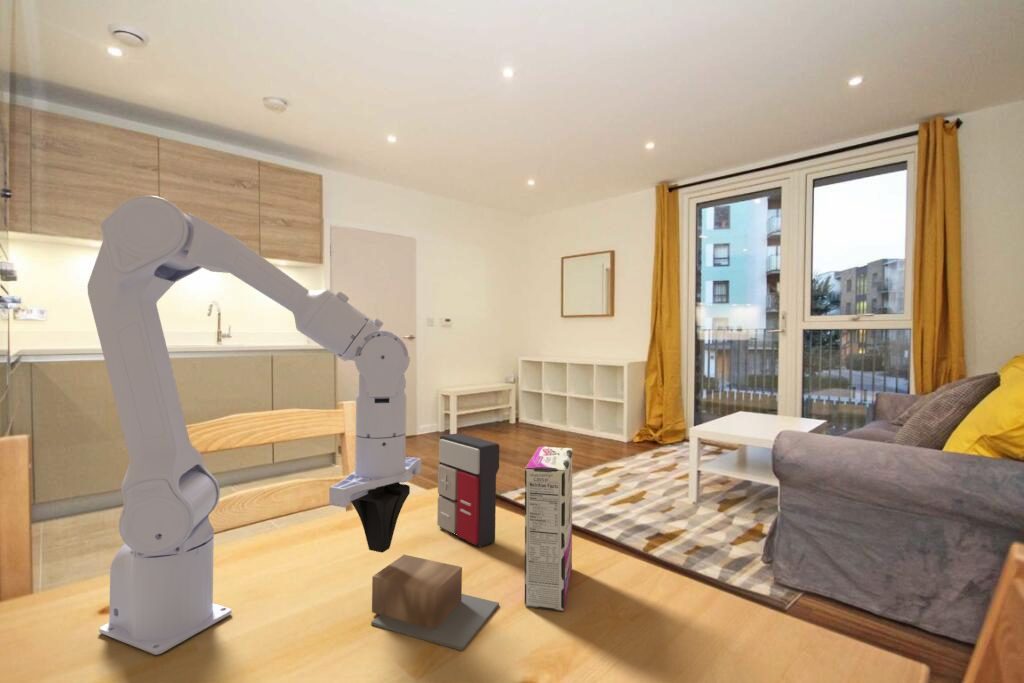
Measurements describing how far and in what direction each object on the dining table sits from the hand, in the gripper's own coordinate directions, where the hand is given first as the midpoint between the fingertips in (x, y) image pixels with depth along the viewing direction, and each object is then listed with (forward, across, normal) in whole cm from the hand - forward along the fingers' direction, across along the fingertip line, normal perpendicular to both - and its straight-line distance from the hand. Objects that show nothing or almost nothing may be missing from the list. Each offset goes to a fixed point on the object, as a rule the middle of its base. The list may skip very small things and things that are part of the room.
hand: (379, 549), depth 57 cm
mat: (+6, 0, -8) cm, 10 cm away
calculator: (+6, +21, 0) cm, 22 cm away
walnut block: (+4, 0, -1) cm, 4 cm away
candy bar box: (+6, +11, -18) cm, 22 cm away
